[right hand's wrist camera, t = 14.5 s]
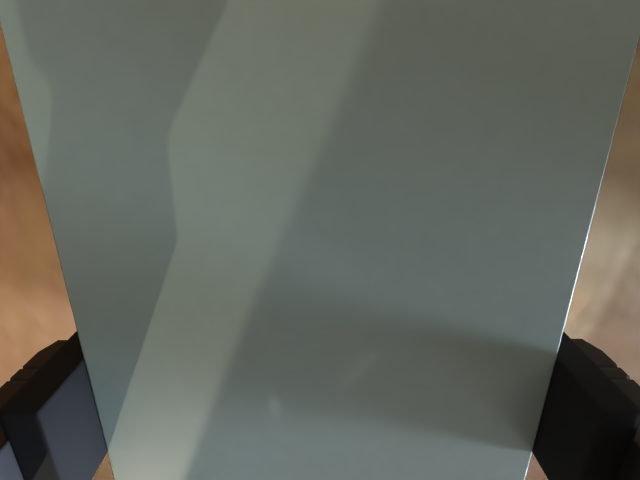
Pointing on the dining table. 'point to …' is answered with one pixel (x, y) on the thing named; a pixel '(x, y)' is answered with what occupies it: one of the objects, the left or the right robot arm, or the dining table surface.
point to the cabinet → (320, 221)
